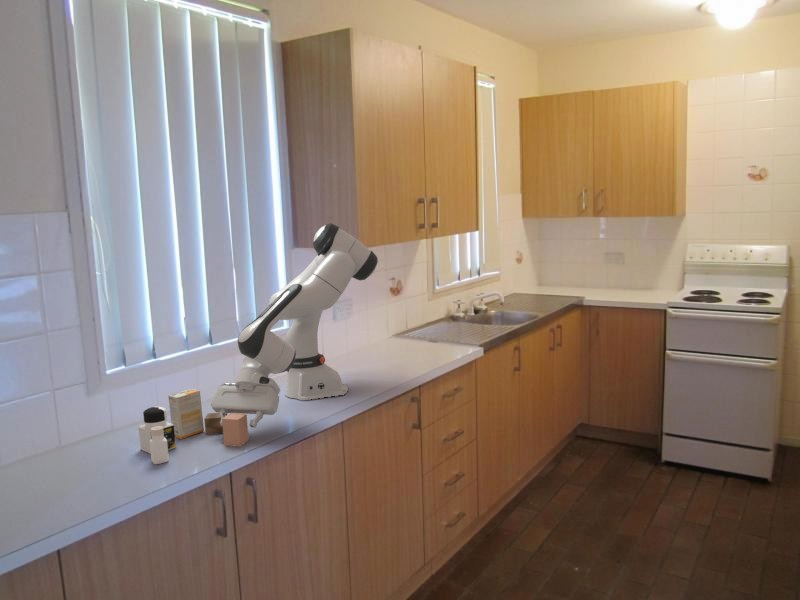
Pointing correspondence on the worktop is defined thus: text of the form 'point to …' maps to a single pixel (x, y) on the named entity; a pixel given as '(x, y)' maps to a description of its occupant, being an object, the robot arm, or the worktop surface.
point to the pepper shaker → (158, 446)
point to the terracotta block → (235, 429)
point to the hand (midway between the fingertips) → (237, 425)
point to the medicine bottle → (153, 419)
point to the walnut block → (213, 423)
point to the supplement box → (186, 413)
